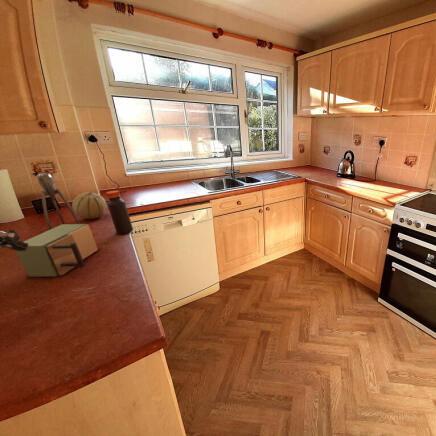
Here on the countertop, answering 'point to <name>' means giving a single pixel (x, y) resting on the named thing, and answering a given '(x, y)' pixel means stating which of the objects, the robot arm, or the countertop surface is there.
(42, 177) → the juicer
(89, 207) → the cantaloupe
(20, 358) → the countertop surface
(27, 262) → the cabinet
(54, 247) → the brown panel dark handle
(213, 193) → the countertop surface
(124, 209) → the bottle
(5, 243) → the robot arm
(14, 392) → the countertop surface
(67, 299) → the countertop surface
